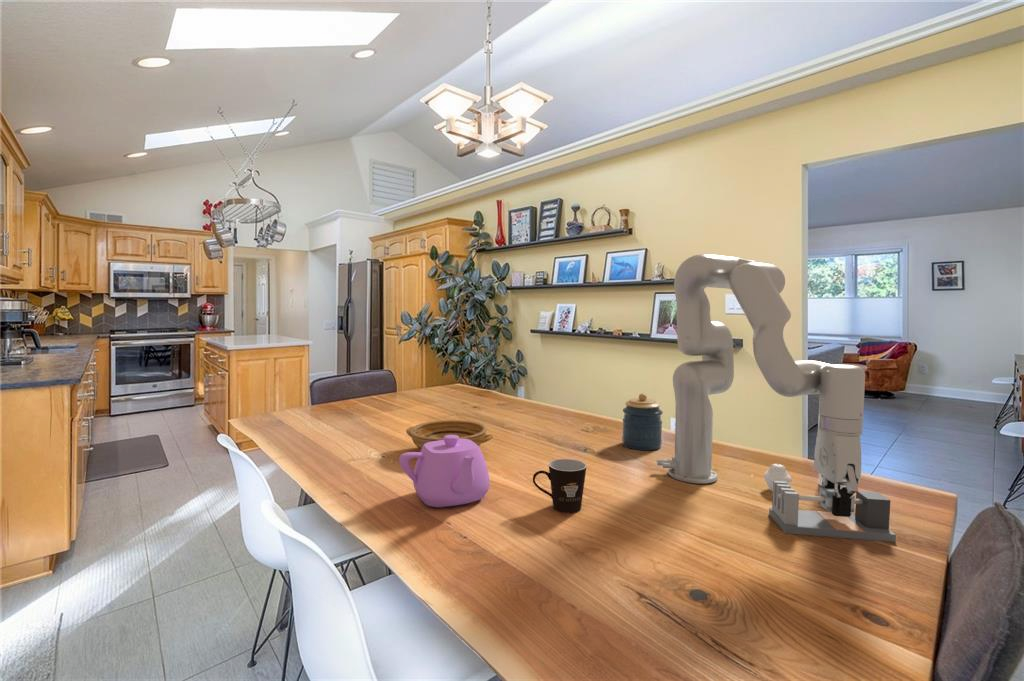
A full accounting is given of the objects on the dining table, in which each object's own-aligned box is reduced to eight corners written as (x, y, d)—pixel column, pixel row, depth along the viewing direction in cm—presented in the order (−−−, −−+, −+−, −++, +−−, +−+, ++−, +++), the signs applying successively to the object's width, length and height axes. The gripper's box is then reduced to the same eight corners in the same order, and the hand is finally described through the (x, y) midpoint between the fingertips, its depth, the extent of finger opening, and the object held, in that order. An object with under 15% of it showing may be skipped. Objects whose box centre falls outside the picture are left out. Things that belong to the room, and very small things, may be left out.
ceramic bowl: (506, 447, 155) (506, 423, 154) (475, 471, 132) (475, 443, 132) (427, 439, 165) (427, 416, 164) (386, 459, 142) (386, 433, 142)
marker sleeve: (826, 510, 96) (827, 494, 96) (818, 503, 100) (819, 487, 100) (853, 512, 96) (854, 496, 95) (844, 505, 99) (845, 489, 99)
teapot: (392, 493, 116) (392, 433, 115) (473, 480, 125) (473, 424, 124) (414, 532, 95) (413, 460, 94) (508, 514, 104) (508, 447, 103)
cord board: (784, 533, 96) (786, 494, 95) (769, 514, 104) (770, 479, 104) (895, 542, 92) (897, 502, 92) (869, 522, 101) (871, 485, 100)
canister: (667, 451, 152) (668, 397, 151) (626, 451, 152) (627, 397, 151) (655, 440, 165) (656, 390, 164) (618, 440, 165) (619, 390, 164)
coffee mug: (588, 502, 110) (589, 461, 110) (582, 517, 102) (582, 473, 102) (541, 496, 114) (541, 455, 114) (531, 510, 106) (531, 467, 106)
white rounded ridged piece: (767, 484, 123) (768, 458, 122) (794, 490, 118) (795, 463, 118) (759, 490, 118) (760, 463, 118) (786, 497, 114) (788, 469, 114)
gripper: (802, 415, 106) (799, 494, 107) (839, 433, 89) (835, 527, 90) (839, 416, 104) (836, 497, 105) (884, 436, 88) (879, 531, 89)
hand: (835, 510), depth 98 cm, fingers closed on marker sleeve, 3 cm apart
